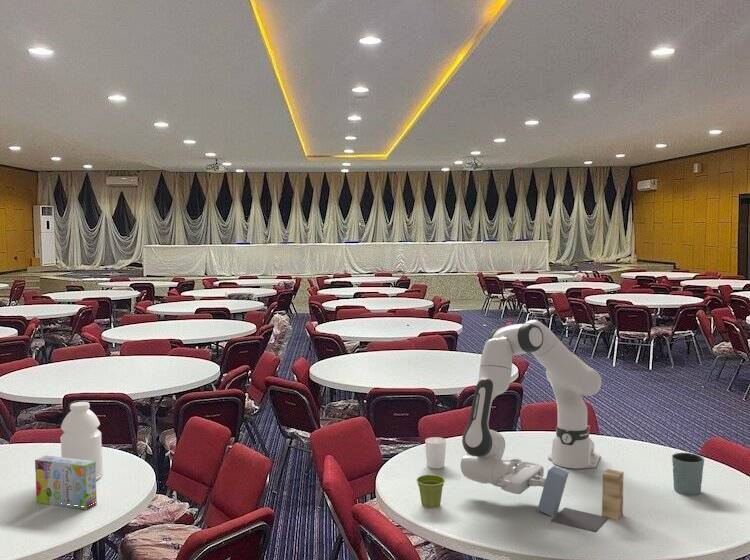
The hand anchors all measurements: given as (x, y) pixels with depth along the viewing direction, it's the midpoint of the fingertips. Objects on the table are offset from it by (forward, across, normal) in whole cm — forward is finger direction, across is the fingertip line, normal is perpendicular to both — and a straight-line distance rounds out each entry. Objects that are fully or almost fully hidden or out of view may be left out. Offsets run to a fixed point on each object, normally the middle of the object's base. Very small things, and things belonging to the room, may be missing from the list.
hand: (546, 483), depth 231 cm
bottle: (-152, -66, +10) cm, 166 cm away
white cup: (-52, +18, +10) cm, 55 cm away
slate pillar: (+1, 0, +9) cm, 9 cm away
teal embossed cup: (+33, +44, +10) cm, 56 cm away
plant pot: (-34, -16, +10) cm, 38 cm away
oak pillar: (+18, +9, +10) cm, 23 cm away
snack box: (-135, -83, +10) cm, 159 cm away
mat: (+11, 0, +10) cm, 15 cm away
